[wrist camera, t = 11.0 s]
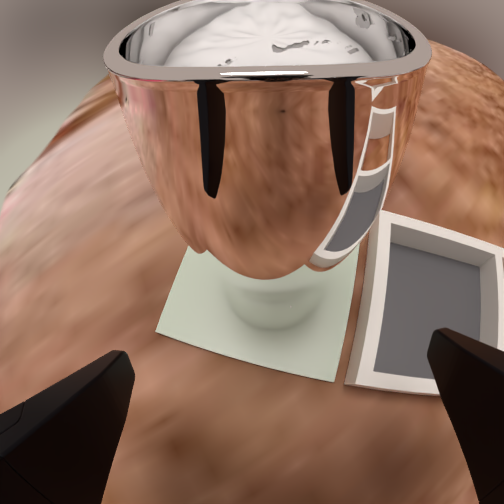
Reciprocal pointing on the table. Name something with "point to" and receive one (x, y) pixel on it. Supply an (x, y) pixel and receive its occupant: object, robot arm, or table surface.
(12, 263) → the table surface
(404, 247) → the white divided tray
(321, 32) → the shiny metal tumbler
